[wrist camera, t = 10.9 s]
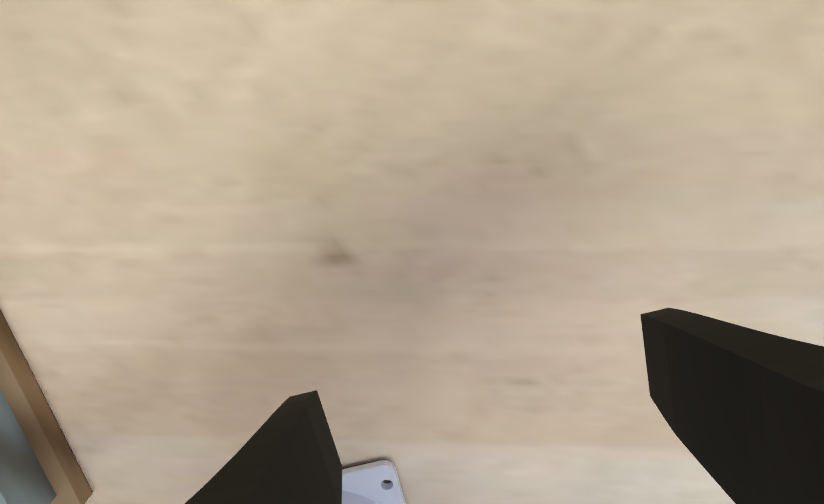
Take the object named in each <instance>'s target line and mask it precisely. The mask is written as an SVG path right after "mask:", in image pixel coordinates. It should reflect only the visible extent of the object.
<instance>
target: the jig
mask: <svg viewBox="0 0 824 504" xmlns="http://www.w3.org/2000/svg"><path fill="white" fill-rule="evenodd" d="M91 494H92V491H91V489H90V487H89V485H88V483H87V481H86V479H85V477H84V475H83V473H82V471H81V469H80V467H79V465H78V463H77V461H76V459H75V457H74V455H73V453H72V451H71V449H70V447H69V445H68V443H67V441H66V439H65V437H64V435H63V433H62V431H61V429H60V427H59V426H58V424H57V422H56V420H55V418H54V416H53V414H52V412H51V410H50V408H49V406H48V404H47V402H46V400H45V398H44V396H43V394H42V392H41V390H40V388H39V386H38V384H37V382H36V380H35V378H34V376H33V374H32V372H31V370H30V368H29V366H28V364H27V362H26V360H25V358H24V356H23V354H22V352H21V350H20V348H19V346H18V344H17V342H16V340H15V338H14V336H13V334H12V333H11V331H10V329H9V327H8V325H7V323H6V321H5V319H4V317H3V315H2V313H1V311H0V504H85V502H86V501H87V500H88V498H89V497H90V496H91Z"/></svg>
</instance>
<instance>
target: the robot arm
mask: <svg viewBox="0 0 824 504" xmlns="http://www.w3.org/2000/svg"><path fill="white" fill-rule="evenodd" d="M641 322H642V331H643V339H644V348H645V356H646V365H647V373H648V381H649V390H650V396H651V398H652V400H653V401H654V403H655V404H656V406H657V407H658V409H659V411H660V412H661V414H662V415H663V417H664V418H665V420H666V421H667V423H668V424H669V426H670V427H671V429H672V430H673V431H674V433H675V434H676V436H677V437H678V438H679V439H680V440H681V441H682V443H683V444H684V445H685V446H686V447H687V449H688V450H689V451H690V452H691V453H692V454H693V455H694V457H695V458H696V459H697V460H698V461H699V462H700V464H701V465H702V466H703V467H704V468H705V469H706V470H707V472H708V473H709V474H710V475H711V476H712V477H713V478H714V480H715V481H716V482H717V483H718V484H719V485H720V486H721V487H722V489H723V490H724V491H725V492H726V493H727V494H728V495H729V497H730V498H731V499H732V500H733V501H734V502H735V503H736V504H824V347H823V346H818V345H814V344H810V343H805V342H801V341H796V340H792V339H788V338H784V337H780V336H776V335H772V334H768V333H764V332H761V331H757V330H753V329H750V328H746V327H742V326H739V325H735V324H731V323H728V322H724V321H721V320H717V319H714V318H710V317H706V316H703V315H699V314H695V313H691V312H687V311H683V310H678V309H673V308H666V309H662V310H657V311H653V312H649V313H645V314H641ZM384 480H390V481H392V482H390V483H383V482H382V481H384ZM185 504H406V502H405V498H404V495H403V491H402V488H401V485H400V481H399V478H398V474H397V471H396V468H395V466H394V464H393V463H392V462H390V461H387V460H381V461H377V462H372V463H368V464H364V465H359V466H355V467H351V468H346V469H342V465H341V462H340V459H339V456H338V453H337V450H336V447H335V444H334V441H333V438H332V435H331V432H330V429H329V426H328V423H327V420H326V417H325V414H324V411H323V408H322V404H321V401H320V398H319V395H318V392H317V391H312V392H308V393H304V394H300V395H295V396H291V397H289V398H288V399H287V400H286V401H285V402H284V403H283V404H282V405H281V406H280V407H279V408H278V409H277V410H276V411H275V412H274V413H273V414H272V415H271V417H270V418H269V419H268V420H267V421H266V422H265V423H264V424H263V425H262V426H261V428H260V429H259V430H258V431H257V432H256V433H255V434H254V435H253V436H252V437H251V438H250V439H249V441H248V442H247V443H246V444H245V445H244V446H243V447H242V448H241V449H240V450H239V451H238V452H237V454H236V455H235V456H234V457H233V458H232V459H231V460H230V461H229V462H228V463H227V464H226V465H225V466H224V467H223V468H222V469H221V470H220V471H219V472H218V473H217V474H216V475H215V476H214V477H213V478H212V479H211V480H210V481H209V482H208V483H207V484H206V485H205V486H204V487H203V488H201V489H200V490H199V491H198V492H197V493H196V494H195V495H194V496H193V497H192V498H191V499H189V500H188V501H187V502H186V503H185Z"/></svg>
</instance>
